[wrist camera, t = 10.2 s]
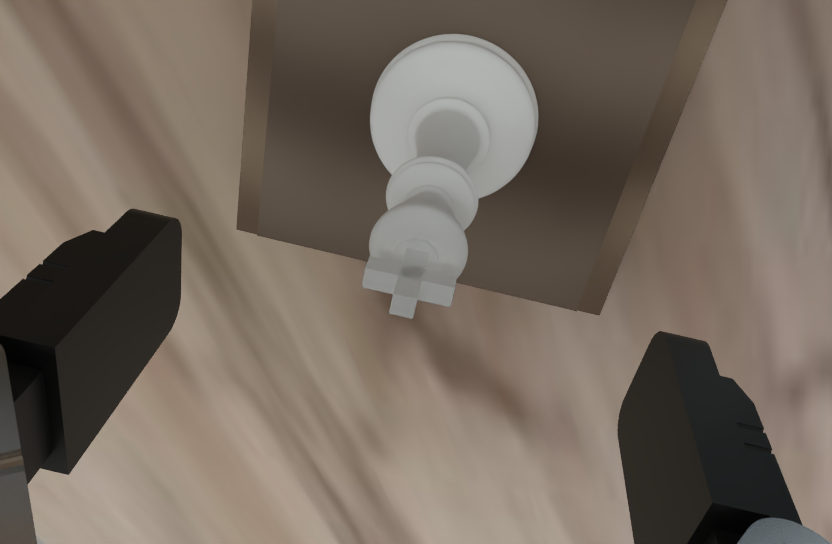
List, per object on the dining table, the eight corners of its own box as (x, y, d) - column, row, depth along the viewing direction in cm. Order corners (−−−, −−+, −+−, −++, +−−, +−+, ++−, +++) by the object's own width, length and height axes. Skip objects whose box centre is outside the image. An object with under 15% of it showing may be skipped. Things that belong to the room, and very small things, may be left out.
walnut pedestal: (296, -204, 22) (236, -216, 18) (738, -102, 22) (794, -87, 18) (261, 196, 30) (211, 262, 25) (592, 274, 30) (605, 355, 25)
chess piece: (514, 210, 23) (504, 436, 14) (360, 176, 23) (259, 380, 14) (559, 54, 20) (580, 215, 11) (385, 16, 20) (277, 148, 12)
